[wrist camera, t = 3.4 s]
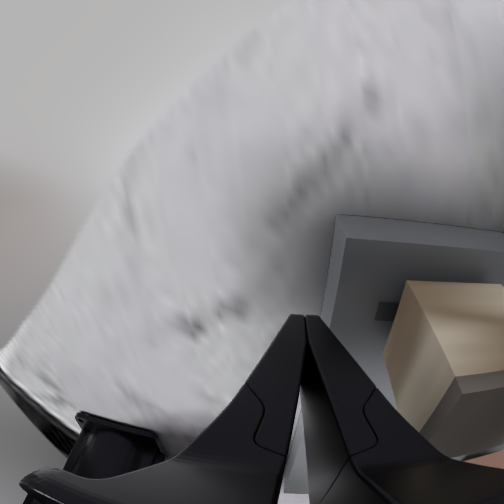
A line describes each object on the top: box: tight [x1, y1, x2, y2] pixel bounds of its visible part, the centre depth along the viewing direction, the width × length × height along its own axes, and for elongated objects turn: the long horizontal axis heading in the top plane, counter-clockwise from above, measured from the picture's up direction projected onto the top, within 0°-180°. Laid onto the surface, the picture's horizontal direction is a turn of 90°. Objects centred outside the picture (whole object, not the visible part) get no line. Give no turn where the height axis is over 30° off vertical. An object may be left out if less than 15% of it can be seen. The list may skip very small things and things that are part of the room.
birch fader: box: [382, 280, 504, 458], centre depth 7 cm, size 4×3×4 cm
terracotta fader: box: [464, 450, 504, 469], centre depth 13 cm, size 4×3×4 cm
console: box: [284, 214, 504, 494], centre depth 13 cm, size 18×19×2 cm
